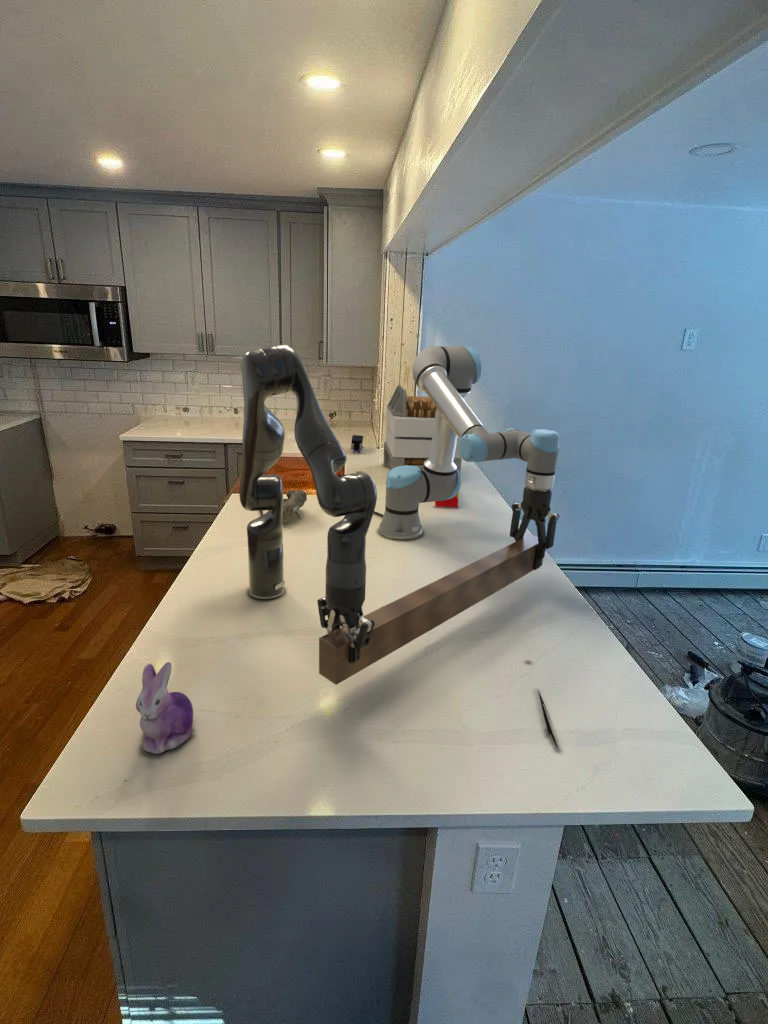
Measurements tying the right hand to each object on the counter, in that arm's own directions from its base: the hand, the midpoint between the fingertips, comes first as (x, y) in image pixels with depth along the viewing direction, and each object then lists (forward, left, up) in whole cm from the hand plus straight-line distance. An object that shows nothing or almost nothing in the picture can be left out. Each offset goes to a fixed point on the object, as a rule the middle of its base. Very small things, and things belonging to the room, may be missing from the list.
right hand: (527, 564), depth 162 cm
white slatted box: (-105, +59, -7) cm, 120 cm away
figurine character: (-156, +60, -7) cm, 167 cm away
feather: (+33, -40, -7) cm, 52 cm away
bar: (+4, -36, -1) cm, 36 cm away
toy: (-73, +41, -7) cm, 84 cm away
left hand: (+7, -71, +3) cm, 71 cm away
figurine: (-3, -103, -7) cm, 103 cm away
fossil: (-88, -25, -7) cm, 92 cm away
